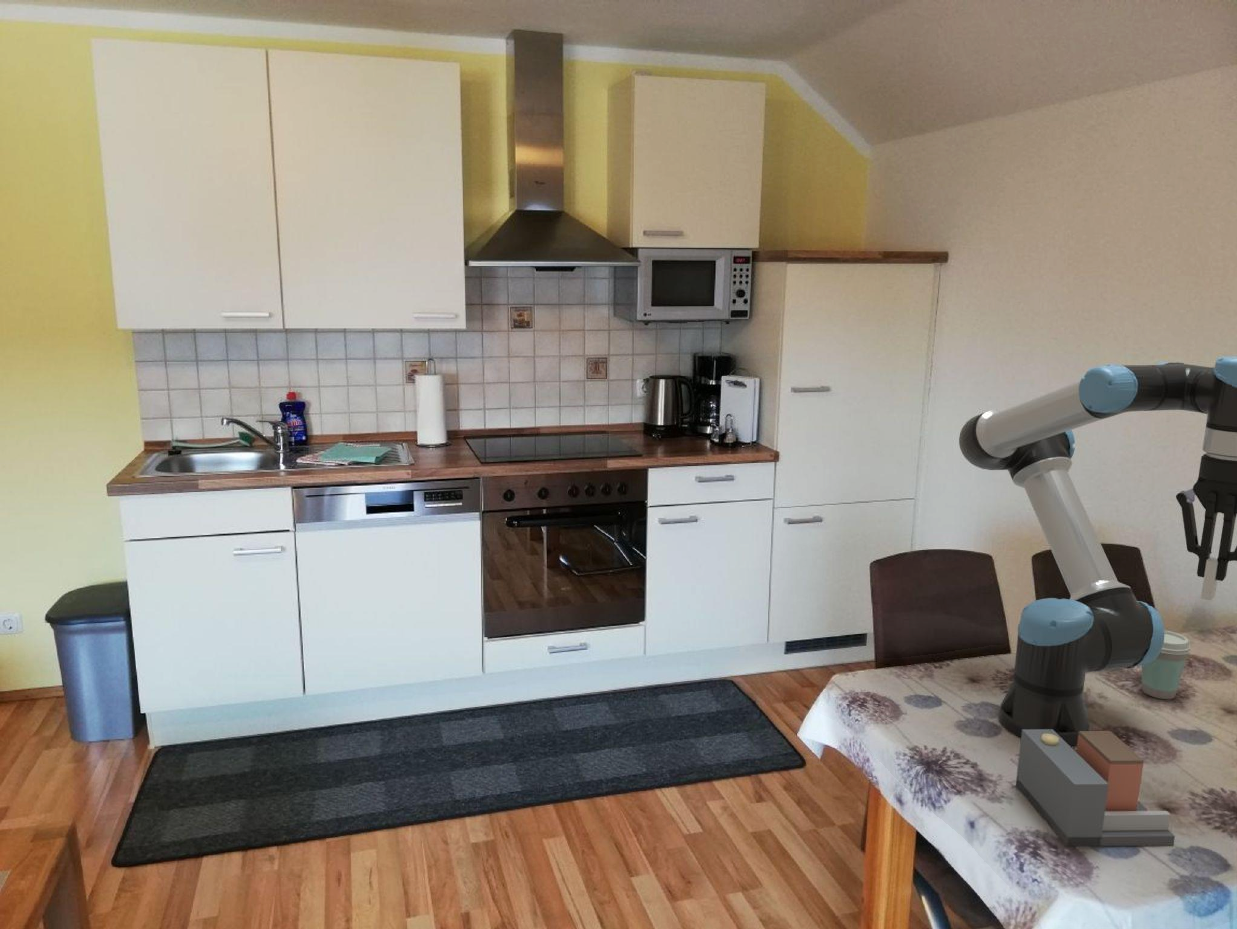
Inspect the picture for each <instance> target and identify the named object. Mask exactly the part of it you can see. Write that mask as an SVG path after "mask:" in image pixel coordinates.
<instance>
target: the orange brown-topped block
mask: <svg viewBox="0 0 1237 929" xmlns="http://www.w3.org/2000/svg"><path fill="white" fill-rule="evenodd" d="M1075 752H1076V753H1077V754H1078V755H1079V756H1080V757H1081V758H1082V759H1084V760H1085V761H1086V762H1087V763H1088V764H1089V765H1090V766H1091V767H1092V768H1093V769H1094V770H1095V771H1096V772H1097V773H1098V774H1099V775H1100V776H1101V777H1102V778H1103V779H1104V780H1105V781H1106V782H1107V783H1108V784H1109V786H1108V793H1107V800H1106V807H1105V811H1137V804H1138V801H1139V796H1140V789H1141V783H1142V782H1141V781H1142V775H1143V768H1144V762H1145V760H1144V759H1143V758H1141V756H1139V755H1138V754H1137V753H1136V752H1135V751H1134V750H1133V749H1132V748H1130V747H1129V746H1128V745H1127V744H1126V743H1125V742H1124V741H1122V740H1121V739H1120V738H1119V737H1118V736H1117V735H1116V734H1114V733H1113V732H1112V731H1110V730H1089V731H1079V734H1078V742H1077V745H1076V750H1075Z"/></svg>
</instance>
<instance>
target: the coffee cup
mask: <svg viewBox="0 0 1237 929" xmlns="http://www.w3.org/2000/svg"><path fill="white" fill-rule="evenodd" d="M1164 633H1165V637H1164V643H1163V644H1162V649H1161V652H1160V654H1159V655H1158V656H1157V657H1156V659H1154V660H1153V661H1152V662H1150V663H1148V664H1145V665H1141V691H1142V692H1143V693H1144V694H1146V695H1148V696H1150V697H1153V698H1157V699H1160V700H1161V699H1162V700H1173V699H1174V698H1176V695H1177V691H1178V688H1179V685H1180V681H1181V678H1182V675H1183V671H1184V669H1185V665H1186V662H1187V657H1188V654H1190V653H1191V645H1190V642H1189V639H1188V638H1187V637H1186V636H1184V635H1182V634H1180V633H1177V632H1174V631H1172V630H1165V629H1164Z"/></svg>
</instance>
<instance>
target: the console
mask: <svg viewBox="0 0 1237 929" xmlns="http://www.w3.org/2000/svg"><path fill="white" fill-rule="evenodd" d="M1019 746H1020V747H1019V753H1018V762H1017V770H1016V771H1017V772H1016V779H1015V787H1016V788H1017V789H1018V790H1019V791H1020V793H1021V794H1022V795H1023V797H1025V799H1026V800H1027V801H1028V802H1029V803H1030V805H1031V806H1032V807H1033V808H1034V809H1035V811H1036V813H1037V814H1039V815H1040V817H1041V818H1042V819H1043V820H1044V821H1045V822H1046V824H1047V825H1048V826H1049V827H1050V829H1051V830H1052V831H1053V832H1054V833H1055V835H1057V837H1058V838H1059V840H1061V842H1062V843H1063V845H1065V846H1066V847H1119V846H1120V847H1123V846H1124V847H1125V846H1126V847H1129V846H1130V847H1133V846H1138V847H1140V846H1174V845H1175V838H1176V836H1175V835H1174V833H1173V832H1172V831H1170V830H1169V829H1170V825H1171V824H1170V823H1171V816H1172V815H1171V813H1170V812H1169V811H1167V810H1149V809H1147V808H1146V807H1145V806H1144V804H1142V803H1141V802H1140V801H1139V800H1138V804H1137V811H1105V807H1106V800H1107V793H1108V786H1109V784H1108V783H1107V782H1106V781H1105V780H1104V779H1103V778H1102V777H1101V776H1100V775H1099V774H1098V773H1097V772H1096V771H1095V770H1094V769H1093V768H1092V767H1091V766H1090V765H1089V764H1088V763H1087V762H1086V761H1085V760H1084V759H1082V758H1081V757H1080V756H1079V755H1078V754H1077V753H1076V750H1075V749H1073V747H1072V746H1069V745H1068V744H1067V743H1066V742H1065V741H1064V740H1063V739H1062V738H1061V737H1060V736H1059V735H1058V734H1057V733H1056V732H1055V731H1054V730H1053V729H1022V735H1021V737H1020V745H1019Z"/></svg>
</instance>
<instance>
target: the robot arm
mask: <svg viewBox="0 0 1237 929" xmlns="http://www.w3.org/2000/svg"><path fill="white" fill-rule="evenodd" d="M1153 411H1155V412H1156V411H1157V412H1158V411H1186V412H1194V413H1199V414H1203V415H1204V414H1206V416H1207V417H1206V423H1205V424H1206V425H1205V429H1204V430H1205V431H1204V436H1203V444H1202V451H1203V452H1204V454H1202V456H1201V458H1200V463H1199V469H1198V470H1199V471H1198V476H1197V477H1198V478H1197V481H1196V482H1194V484H1193V486H1192V488H1191V489H1190V488H1189V489H1187V490H1182V491H1180V492H1178V493H1177V494H1176V495H1175V498H1176V499H1175V500H1177V503H1178V505H1179V506H1180V508H1181V515H1182V522H1183V523H1182V524H1183V529H1184V536H1185V537H1184V538H1185V544H1186V550H1187V551H1188V552H1189V553H1191V554H1195V555H1196V556H1197V557H1198V563H1197V570H1196V574H1197V577H1200V578H1203V581H1202V587H1201V593H1200V594H1201V595H1200V599H1202V600H1207V601H1213V599H1214V598H1215V597H1216V593H1217V592H1216V591H1217V585H1218V581H1219V582H1223V581H1224V580H1225V579H1226V577H1227V572H1228V566H1229V562H1237V545H1236V546H1235V549H1234V551H1231V549H1232V545H1233V544H1232V543H1233V537H1234V533H1235V532H1234V530H1235V525H1236V520H1237V356H1221V357H1218V358H1217V359H1216V361H1215V364H1214V366H1213V367H1211V366H1205V365H1204V366H1202V365H1197V364H1196V365H1194V364H1188V363H1187V364H1186V363H1184V362H1179V361H1178V362H1177V361H1176V362H1174V361H1173V362H1171V361H1170V362H1167V361H1164V362H1163V361H1162V362H1158V363H1156V364H1146V365H1145V364H1142V365H1140V364H1139V365H1138V364H1137V365H1136V364H1130V365H1129V364H1126V365H1123V364H1121V365H1120V364H1108V365H1104V366H1095V367H1092V368H1089V369H1088V370H1087V371H1086V372H1085V374H1084V375H1083V376H1082V377H1081V378H1080V380H1078V381H1076V382H1073V383H1071V384H1069V385H1066V386H1063V387H1060V388H1059V389H1056V390H1052V391H1051V392H1048V393H1045V394H1043V395H1040V396H1038V397H1035V398H1032V399H1030V400H1028V401H1025V402H1023V403H1020V404H1017V405H1014V406H1012V407H1010V408H1009V407H1008V408H1007V409H1004V410H1000V409H991V410H988V411H985V412H982V413H980V414H978V415H974V416H973V417H971V418H970V419H968V420H967V421H966V422H965V423H964V425H963V426H962V428H961V430H960V432H959V437H958V445H959V448H960V451H961V454H962V456H964V458H965V460H966V461H968V463H970V464H971V465H973V466H974V467H976V468H979V469H982V470H986V471H987V470H988V471H1008V473H1009V475H1010V478H1011V480H1012V482H1013V484H1014V485H1015V486H1017V487H1020V488H1023V489H1024V490H1025V493H1026V495H1027V497H1028V499H1029V502H1030V504H1031V506H1032V508H1033V511H1034V514H1035V515H1036V517H1037V518H1036V519H1037V520H1038V522H1039V525H1040V527H1041V529H1042V532H1043V534H1044V537H1045V539H1046V542H1047V544H1048V545H1049V548H1050V550H1051V553H1052V555H1053V558H1054V560H1055V563H1056V565H1057V566H1058V569H1059V572H1060V574H1061V576H1062V578H1063V581H1064V583H1065V585H1066V587H1067V590H1068V592H1069V595H1070V598H1068V599H1067V598H1060V599H1059V598H1057V597H1048V598H1041V599H1037V600H1033V601H1032V602H1030V603H1028V604H1026V605H1025V606H1024V607H1023V609H1022V611H1021V614H1020V619H1019V623H1018V625H1017V638H1016V639H1017V642H1016V649H1015V650H1016V651H1015V652H1016V653H1015V660H1014V670H1013V678H1012V682H1011V683H1010V686H1009V687H1008V690H1007V691H1006V694H1005V695H1004V697H1003V699H1002V701H1001V703H1000V705H999V709H998V710H999V711H998V712H999V713H998V721H999V722H1000V724H1001V726H1002V727H1003V728H1004V729H1005V730H1007V731H1008V732H1010V733H1011V734H1013V735H1014V736H1017V737H1019V738H1021V735H1022V729H1053V730H1054V731H1055V732H1056V733H1057V734H1058V735H1059V736H1060V737H1061V738H1062V739H1063V740H1064V741H1065V742H1066V743H1067V744H1068V745H1069V746H1070V747H1072V746H1073V747H1074V746H1077V742H1078V734H1079V731H1090V724H1091V723H1090V719H1089V714H1088V710H1087V707H1086V703H1085V702H1086V701H1085V697H1084V689H1085V688H1084V687H1085V682H1086V681H1085V680H1086V674H1087V673H1096V672H1105V671H1111V670H1119V669H1128V670H1130V669H1134V668H1135V667H1140V666H1141V667H1142V665H1145V664H1148V663H1150V662H1152V661H1153V660H1154V659H1156V657H1157V656H1158V655H1159V654H1160V652H1161V649H1162V644H1163V643H1164V637H1165V633H1164V630H1165V626H1164V622H1163V620H1162V617H1161V615H1160V614H1159V612H1158V611H1157V610H1156V609H1155V608H1154V607H1153V606H1151V605H1149V604H1148V603H1147V602H1144V601H1139V600H1137V598H1136V596H1135V594H1134V592H1133V590H1132V588H1131V586H1129V585H1127V584H1124V583H1122V582H1119V581H1118V579H1117V576H1116V574H1115V572H1114V569H1113V568H1112V566H1111V565H1112V564H1110V561H1109V558H1108V557H1107V555H1106V553H1105V551H1104V550H1105V549H1104V547H1103V546H1102V543H1101V542H1100V539H1099V537H1098V535H1097V533H1096V531H1095V528H1094V526H1093V524H1092V522H1091V520H1090V517H1089V515H1088V514H1087V511H1086V509H1085V507H1084V505H1083V502H1082V500H1081V498H1080V496H1079V494H1078V492H1077V490H1076V487H1075V485H1074V483H1073V481H1072V479H1071V477H1070V476H1071V475H1070V474H1069V471H1070V469H1071V467H1072V465H1073V461H1072V458H1073V456H1074V453H1075V449H1076V448H1075V447H1074V446H1073V445H1074V444H1075V442H1076V441H1075V436H1074V433H1073V430H1074V429H1078V428H1082V427H1084V426H1087V425H1089V424H1092V423H1096V422H1099V421H1102V420H1104V419H1108V418H1111V417H1114V416H1117V415H1120V414H1124V413H1130V412H1153ZM1195 496H1196V497H1195ZM1195 498H1197V499H1198V501H1199V502H1200V505H1201V506H1202V507H1203V509H1204V510H1205V511H1204V519H1203V520H1204V521H1203V527H1202V535H1201V539H1200V540H1201V541H1200V544H1199V537H1198V531H1197V522H1196V516H1195V508H1194V504H1193V503H1194V502H1195V500H1196V499H1195ZM1218 514H1223V519H1222V520H1223V523H1222V529H1221V537H1220V542H1219V547H1218V548H1219V549H1218V556H1217V557H1216V556H1211V554H1212V549H1213V541H1214V537H1215V536H1214V535H1215V529H1216V523H1217V517H1218Z"/></svg>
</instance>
